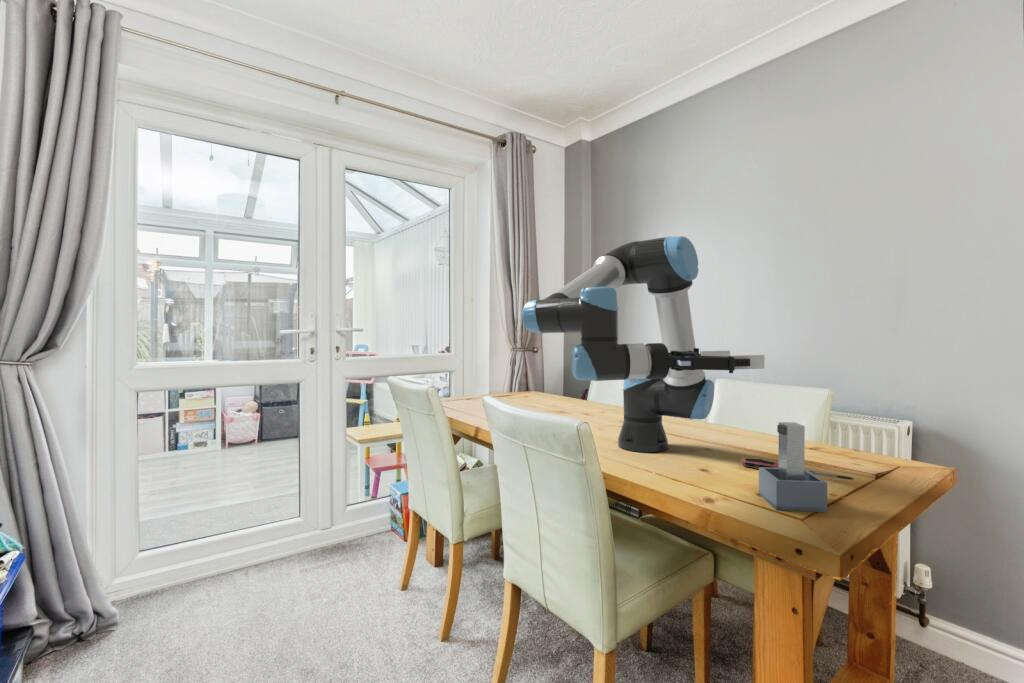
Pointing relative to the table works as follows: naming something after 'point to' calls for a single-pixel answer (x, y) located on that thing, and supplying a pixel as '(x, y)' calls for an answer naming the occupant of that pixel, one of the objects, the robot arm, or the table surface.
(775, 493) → the caddy
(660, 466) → the table surface
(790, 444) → the brushed metal post
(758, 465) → the screwdriver
